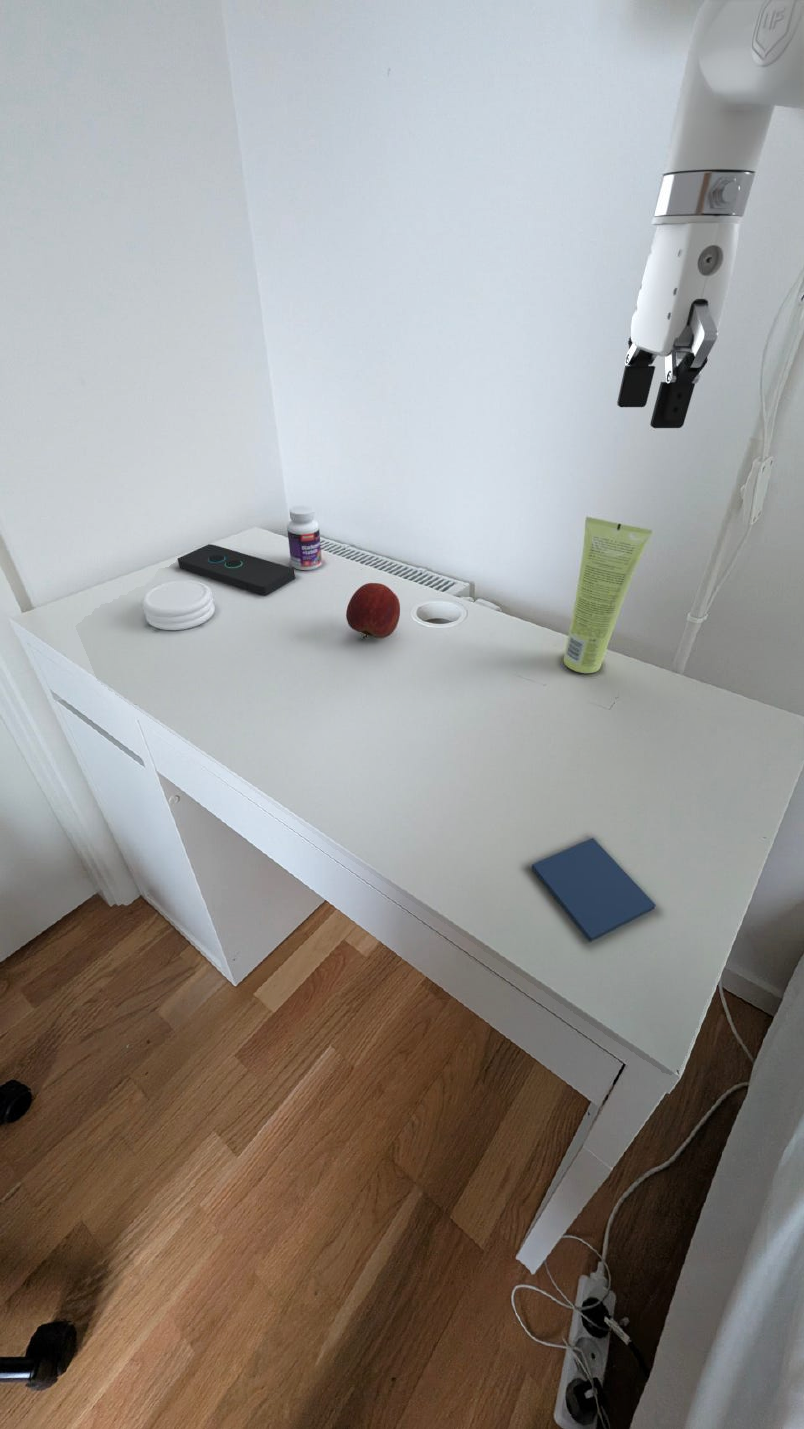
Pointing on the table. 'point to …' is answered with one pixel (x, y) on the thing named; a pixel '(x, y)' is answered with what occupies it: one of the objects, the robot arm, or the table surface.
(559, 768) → the table surface
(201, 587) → the coaster
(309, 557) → the pill bottle
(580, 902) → the mat
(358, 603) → the apple
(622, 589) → the tube
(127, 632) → the table surface
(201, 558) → the smart home device
